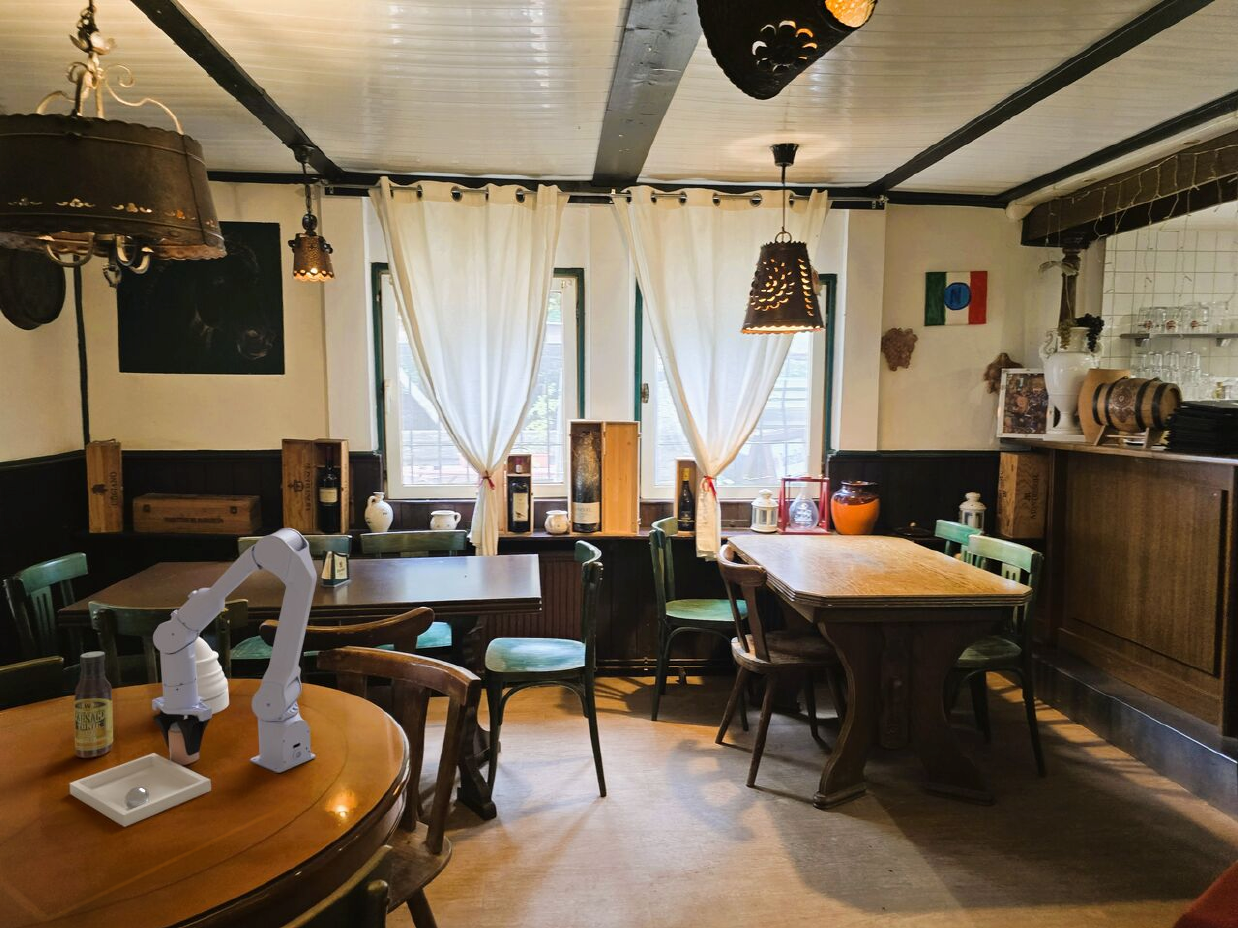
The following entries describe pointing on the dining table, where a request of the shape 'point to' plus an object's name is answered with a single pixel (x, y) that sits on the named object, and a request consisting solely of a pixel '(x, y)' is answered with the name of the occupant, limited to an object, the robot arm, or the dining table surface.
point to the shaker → (179, 747)
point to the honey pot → (210, 678)
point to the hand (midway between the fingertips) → (184, 750)
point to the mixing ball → (136, 797)
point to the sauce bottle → (93, 708)
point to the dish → (150, 772)
